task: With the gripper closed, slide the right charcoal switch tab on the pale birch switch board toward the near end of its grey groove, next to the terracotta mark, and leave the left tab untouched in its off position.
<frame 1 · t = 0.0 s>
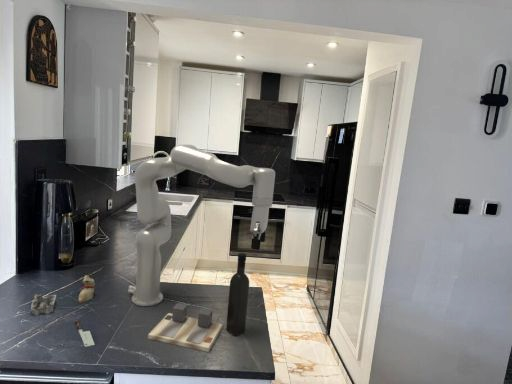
hand: (258, 245, 128), 31 cm above the worktop, tool pointing down, fingers open, 9 cm apart
switch panel: (186, 332, 121), on the worktop
right tab: (205, 317, 123), point 5 cm above the worktop, slide at 0.0 cm
cream animal figurine: (86, 298, 138), on the worktop
left tab: (179, 312, 125), point 5 cm above the worktop, slide at 0.0 cm
egg carton: (44, 308, 128), on the worktop
wine bottle: (235, 331, 125), on the worktop
cleaver: (86, 334, 116), on the worktop
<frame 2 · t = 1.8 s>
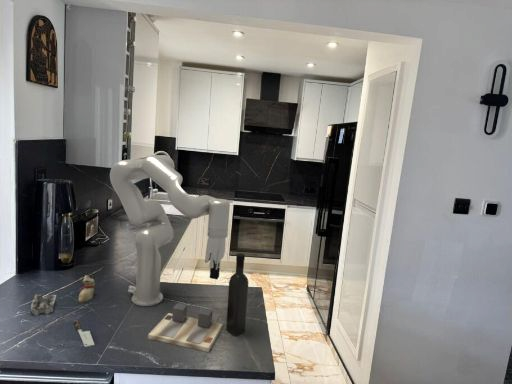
hand: (214, 277, 128), 17 cm above the worktop, tool pointing down, fingers closed
nothing on the worktop moved.
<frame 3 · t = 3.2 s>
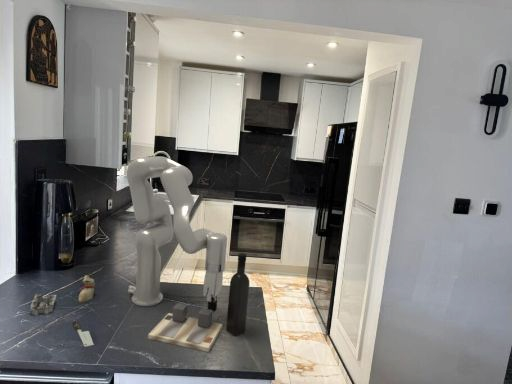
hand: (212, 310, 131), 4 cm above the worktop, tool pointing down, fingers closed
nothing on the worktop moved.
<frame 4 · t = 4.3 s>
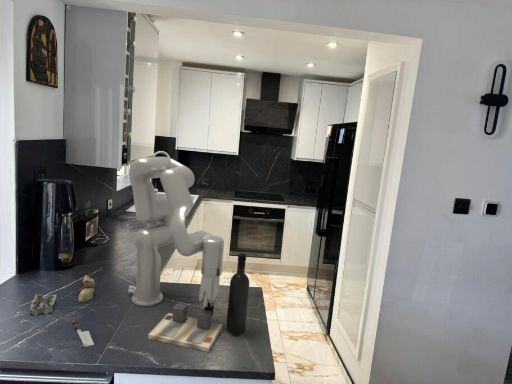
hand: (208, 315, 127), 4 cm above the worktop, tool pointing down, fingers closed
right tab: (204, 319, 123), point 4 cm above the worktop, slide at 0.8 cm, touching gripper
everything else where it was.
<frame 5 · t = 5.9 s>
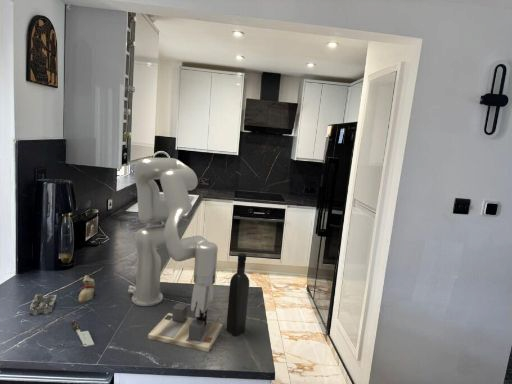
hand: (201, 325, 120), 4 cm above the worktop, tool pointing down, fingers closed
right tab: (196, 329, 115), point 4 cm above the worktop, slide at 8.1 cm, touching gripper
everything else where it was.
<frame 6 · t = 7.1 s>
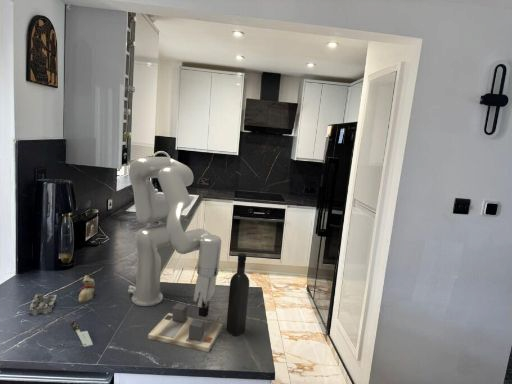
hand: (203, 315, 124), 5 cm above the worktop, tool pointing down, fingers closed
right tab: (196, 329, 116), point 5 cm above the worktop, slide at 8.1 cm
everything else where it was.
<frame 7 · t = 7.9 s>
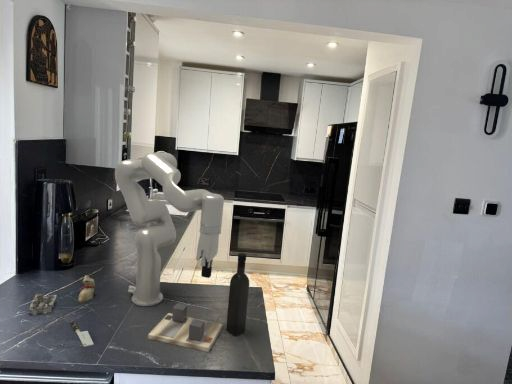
hand: (206, 276, 122), 20 cm above the worktop, tool pointing down, fingers closed
nothing on the worktop moved.
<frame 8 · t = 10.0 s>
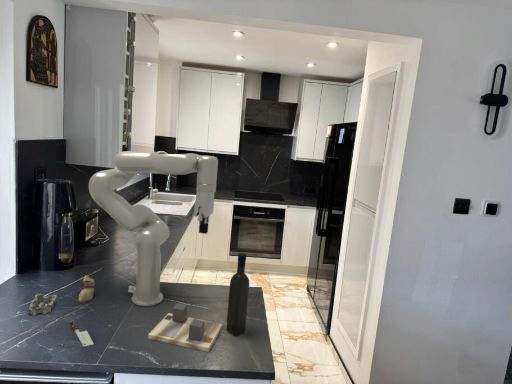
hand: (203, 232, 134), 32 cm above the worktop, tool pointing down, fingers closed
at the end: right tab slide at 8.1 cm; left tab slide at 0.0 cm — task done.
